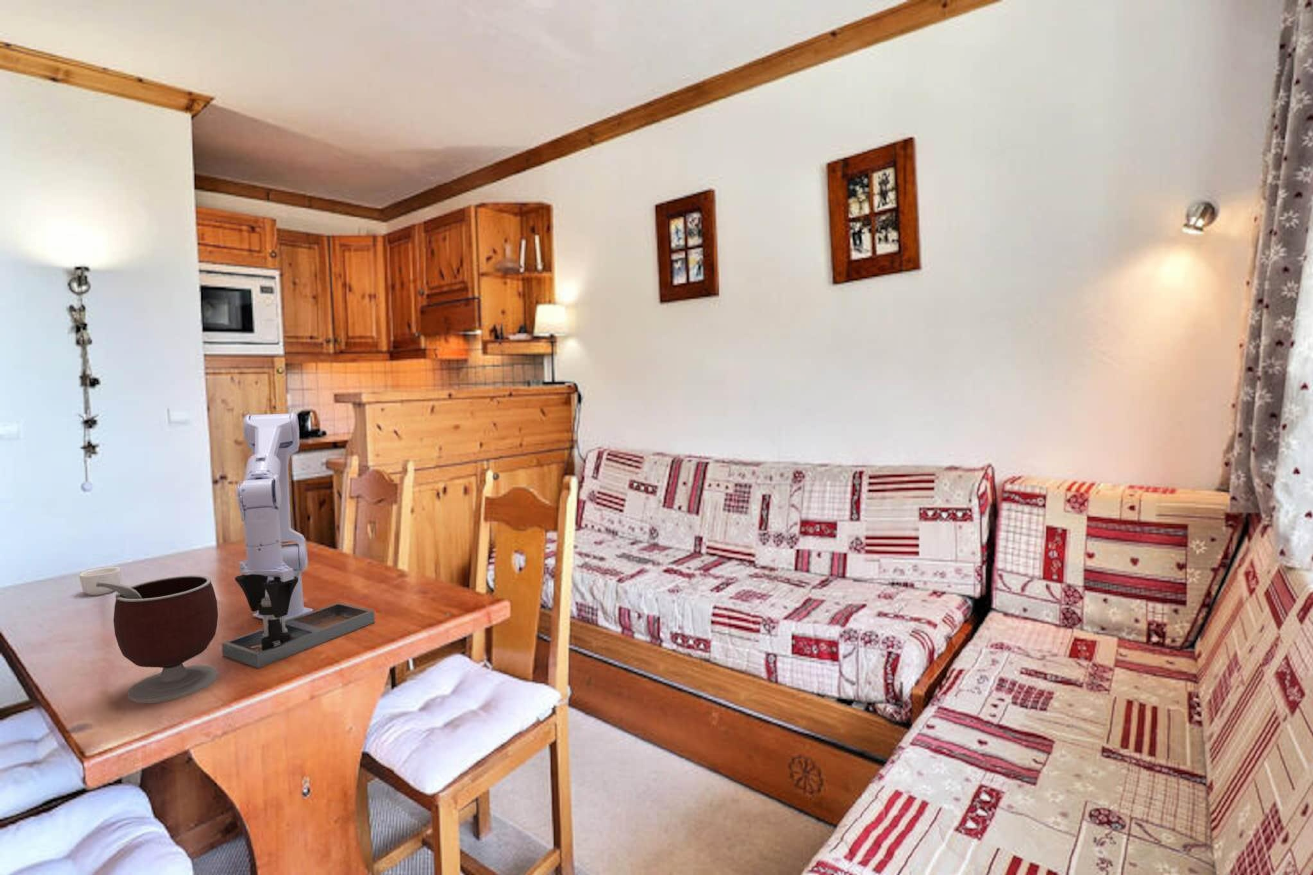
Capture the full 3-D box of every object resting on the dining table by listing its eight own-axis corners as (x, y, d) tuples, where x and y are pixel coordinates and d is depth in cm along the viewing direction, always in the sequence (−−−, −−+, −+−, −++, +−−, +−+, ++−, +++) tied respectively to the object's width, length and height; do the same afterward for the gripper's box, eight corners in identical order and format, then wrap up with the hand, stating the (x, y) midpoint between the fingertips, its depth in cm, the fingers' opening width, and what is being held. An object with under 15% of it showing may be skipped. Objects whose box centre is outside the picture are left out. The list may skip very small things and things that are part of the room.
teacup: (124, 592, 161) (121, 570, 160) (82, 600, 156) (80, 578, 155) (119, 583, 168) (117, 563, 167) (79, 591, 163) (77, 570, 162)
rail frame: (222, 655, 122) (221, 642, 121) (339, 613, 142) (339, 602, 142) (258, 668, 116) (257, 654, 116) (374, 622, 137) (373, 610, 137)
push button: (254, 659, 120) (250, 606, 119) (249, 650, 124) (245, 599, 123) (295, 649, 124) (291, 598, 123) (288, 640, 128) (285, 591, 127)
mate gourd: (215, 659, 120) (205, 553, 118) (231, 684, 110) (220, 569, 108) (106, 688, 110) (93, 573, 108) (112, 719, 100) (98, 592, 98)
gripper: (219, 543, 122) (225, 613, 123) (264, 552, 115) (270, 626, 116) (258, 535, 128) (263, 602, 129) (302, 542, 121) (307, 613, 122)
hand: (269, 612), depth 123 cm, fingers open, 7 cm apart
